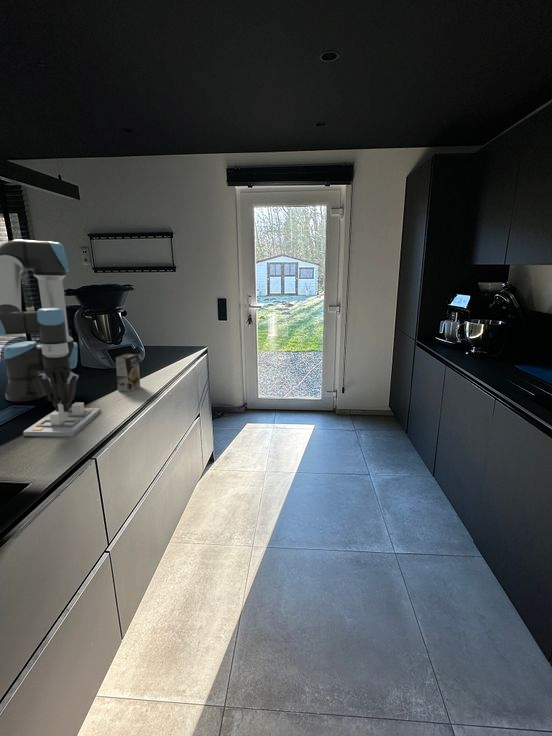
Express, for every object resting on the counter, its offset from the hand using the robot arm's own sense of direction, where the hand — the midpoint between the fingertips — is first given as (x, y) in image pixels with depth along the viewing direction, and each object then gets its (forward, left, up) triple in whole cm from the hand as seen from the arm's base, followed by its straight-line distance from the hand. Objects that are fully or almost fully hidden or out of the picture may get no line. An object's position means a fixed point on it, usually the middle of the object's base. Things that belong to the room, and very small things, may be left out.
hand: (64, 419), depth 125 cm
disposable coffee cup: (-12, +21, -3) cm, 25 cm away
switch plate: (-2, +4, -3) cm, 6 cm away
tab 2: (+1, +9, -1) cm, 9 cm away
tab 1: (-2, 0, -1) cm, 3 cm away
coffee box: (+7, +44, -3) cm, 45 cm away
